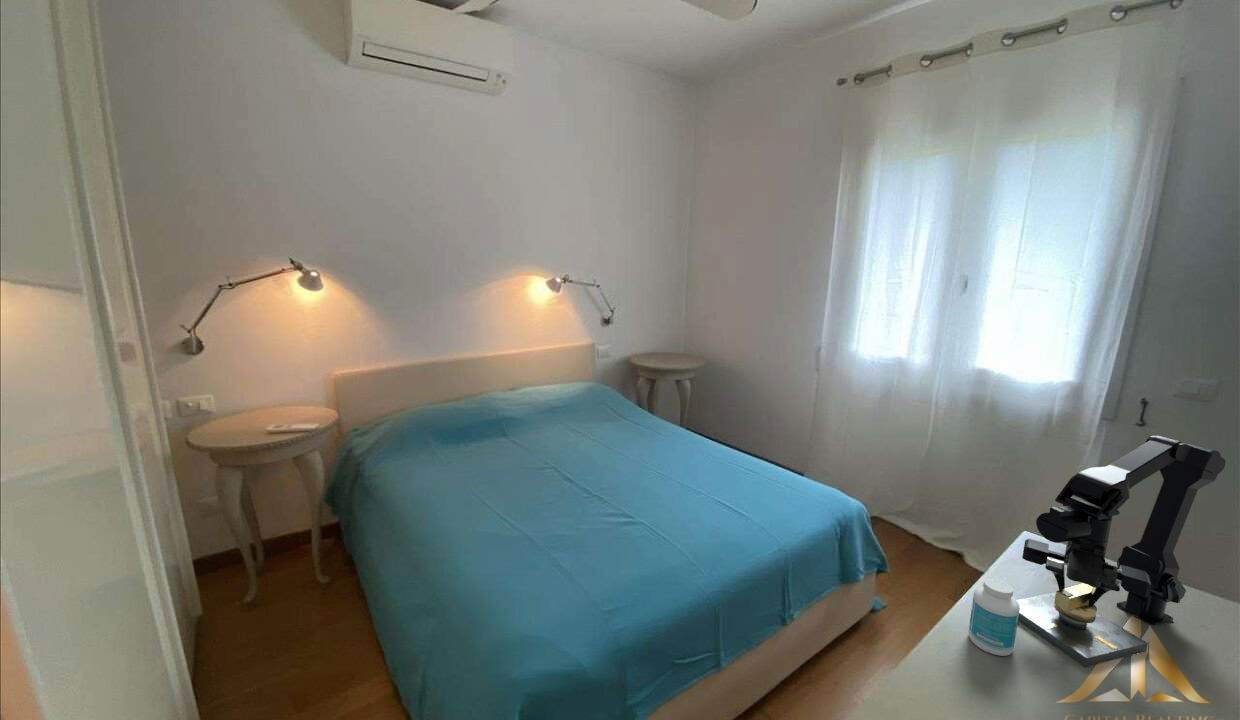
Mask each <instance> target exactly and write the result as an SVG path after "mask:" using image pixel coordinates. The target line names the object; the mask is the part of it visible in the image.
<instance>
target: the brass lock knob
mask: <svg viewBox="0 0 1240 720" xmlns="http://www.w3.org/2000/svg"><path fill="white" fill-rule="evenodd" d="M1092 588H1093V587H1091V586H1089V585H1087V584H1084V583H1079V584H1075V585H1073V586H1069V587H1065V589H1062V590H1059V589H1058V590H1056V591H1055V592H1056V595H1055V600H1054V608H1055V609H1056V610H1057V611H1058V612H1059V613H1060V614H1062V615H1063V616H1065V617H1067V618H1069V619H1072V620H1074V621H1078V622H1082V623H1093V622H1094V621H1095V618H1096V613H1098V607H1097V606H1096V605H1095V604H1094V605H1093V606H1092V607H1091V608H1090V607H1088V602H1089V597H1090V594H1091V591H1092ZM1096 602H1098V600H1097V601H1096Z"/></svg>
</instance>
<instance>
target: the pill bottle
mask: <svg viewBox="0 0 1240 720" xmlns="http://www.w3.org/2000/svg"><path fill="white" fill-rule="evenodd" d="M972 595H973V596H972V597H973V598H972V605H971V612H970V616H969V626H968V636H969V639H970V640H971V642H972V643H973V644H974V645H975V646H976V647H977V648H979V649H980V650H982V651H984V652H986V653H988V654H991V655H994V656H995V655H996V656H998V657H999V656H1001V657H1002V656H1003V657H1005V656H1009V655H1012V654H1013V652H1014V649H1015V642H1016V636H1017V630H1018V625H1019V624H1018V622H1019V621H1018V618H1019V611H1020V606H1019V604H1018V602H1017V601H1016V600H1017V599H1016V598H1015V597H1014V596H1013V595H1014V588H1013V587H1012V586H1011V585H1010V584H1008V583H1007V582H1005V581H1003V580H1000V579H996V578H992V577H991V578H985V579H984V580H983V584H982V586H979V587H978V588H976V589H975V590H974V592H973V594H972Z"/></svg>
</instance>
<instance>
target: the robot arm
mask: <svg viewBox="0 0 1240 720" xmlns="http://www.w3.org/2000/svg"><path fill="white" fill-rule="evenodd" d="M1225 467H1226V460H1225V458H1224V457H1222V456H1221V453H1220V452H1219V451H1218V450H1216V449H1212V448H1208V447H1205V446H1200V445H1197V444H1192V443H1189V442H1185V441H1181V440H1177V439H1174V438H1169V437H1166V436H1163V435H1162V436H1161V435H1150V436H1148V437H1147V439H1146V440H1145V443H1143V444H1141V445H1139V446H1138V447H1136V448H1134V449H1133V450H1132V451H1130V452H1128V453H1127V454H1125V455H1123V456H1122V457H1120V458H1118V459H1117V460H1115V461H1113V462H1112V463H1109V464H1108V465H1105V466H1094V467H1088V468H1086V469H1084V470H1081V471H1079V472H1076V473H1075V474H1074V475H1073V476H1072V477H1070V479H1069V480H1068V481H1067V483H1066V484H1065V485H1064V487H1063V488H1062V490H1061V491H1059V493H1058V495H1057V497H1056V498H1055V500H1054V501H1055V502H1056V503H1058V504H1061V505H1062V506H1051V507H1050V508H1049V512H1048V511H1047V512H1043V513H1040V515H1038V517H1036V521H1035V525H1036V528H1037V530H1038V532H1039V534H1041V536H1042V537H1044V538H1045V539H1046V540H1047V541H1049V542H1052V543H1054V544H1060V543H1065V542H1066V545H1065V550H1064V554H1063V553H1061V552H1057V551H1053V550H1050V549H1049V545H1050V544H1049V543H1046V542H1042V541H1039V540H1035V539H1031V538H1027V539H1025V540H1024V545H1023V551H1022V559H1023V560H1025V561H1027V562H1031V563H1034V564H1037V565H1040V566H1042V565H1045V570H1046V571H1050V572H1051V573H1052V574H1053V575H1054V578H1055V580H1056V582H1057V583H1056V584H1057V587H1058V590H1062V589H1065V588H1066V579H1065V578H1066V577H1067V579H1069V580H1070V581H1072V582H1078V583H1080V584H1082V583H1084V584H1087V585H1089V586H1091V587H1093V588H1092V591H1091V594H1090V597H1089V602H1088V607H1090V608H1091V607H1092V606H1093V605H1095V604H1096V601H1097V602H1098V600H1099V599H1100V598H1101V597H1103V596H1104V595H1105V594H1106V593H1108V592H1111V591H1114V592H1120V591H1121V588H1122V589H1124V591H1125V592H1127V596H1126V600H1125V601H1120V602H1116V606H1117V607H1119V608H1120V609H1122V610H1124V611H1126V612H1128V613H1129V614H1131V615H1133V616H1135V617H1136V618H1139V619H1140V620H1141V621H1143V622H1145V623H1147V624H1149V625H1152V626H1154V625H1158V624H1164V623H1167V622H1172V621H1173V620H1174V617H1172V615H1169V614H1167V613H1165V612H1166V609H1167V606H1168V603H1170V602H1171V603H1175V604H1180V603H1181V600H1182V599H1183V598H1184V597H1185V595H1186V592H1187V589H1186V588H1185V587H1184V585H1183V584H1182V582H1181V581H1180V580H1179V578H1178V576H1179V572H1180V566H1179V563H1178V561H1177V559H1176V556H1175V554H1174V550H1175V548H1176V546H1177V544H1178V540H1179V538H1180V536H1181V532H1182V530H1183V528H1184V526H1185V523H1186V521H1187V518H1188V515H1189V513H1190V510H1191V508H1192V505H1193V504H1194V501H1195V497H1196V495H1197V493H1198V490H1200V489H1203V488H1204V487H1205V486H1208V485H1210V484H1211V483H1214V481H1216V480H1217V477H1218V475H1219V474H1220V473H1222V471H1224V469H1225ZM1158 471H1159V473H1160V475H1161V478H1162V479H1163V481H1162V483H1161V486H1160V487H1159V488H1160V489H1159V492H1158V493H1157V496H1156V499H1155V502H1154V504H1153V507H1152V509H1151V512H1150V515H1149V517H1148V520H1147V522H1146V525H1145V527H1144V531H1143V533H1142V535H1141V538H1140V540H1139V541H1138V542H1137V543H1134V544H1132V545H1130V546H1129V545H1126V546H1125V547H1123V548H1122V551H1121V554H1120V556H1119V557H1118V559H1117V562H1116V565H1112V564H1109V562H1106V559H1105V557H1106V552H1107V548H1108V547H1107V546H1108V542H1109V537H1110V532H1111V527H1112V522H1113V521H1112V520H1113V517H1114V516H1118V515H1120V514H1121V512H1120V510H1119V509H1121V508H1120V507H1122V506H1123V505H1124V504H1125V503H1126V501H1128V500H1129V499H1130V495H1131V492H1130V491H1131V489H1132V488H1133V487H1134V486H1136V485H1138V484H1139V483H1141V482H1142V481H1144V480H1146V479H1147V478H1149V477H1150V476H1152V475H1154V474H1155V473H1157V472H1158ZM1072 497H1074V498H1072ZM1075 498H1077V499H1079V500H1081V501H1079V500H1077V499H1075ZM1082 501H1085V502H1087V503H1085V502H1082ZM1065 567H1066V568H1065ZM1065 570H1066V571H1065ZM1065 572H1066V574H1065Z"/></svg>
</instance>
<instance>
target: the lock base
mask: <svg viewBox="0 0 1240 720" xmlns="http://www.w3.org/2000/svg"><path fill="white" fill-rule="evenodd" d="M1055 595H1056V591H1054V592H1049V593H1044V594H1041V595H1034V596H1030V597H1026V598H1019V599H1016V601H1017V602H1018V604H1019V606H1020V611H1019V618H1018V622H1019V623H1021V624H1022V625H1024V626H1025V627H1027V628H1028V629H1029V630H1031V631H1032V632H1034V633H1035V634H1037V635H1038V636H1040V637H1041V638H1042V639H1044V640H1045V641H1046V642H1048V643H1050V644H1051V645H1052V646H1054V647H1055V648H1057V649H1059V650H1060V651H1061V652H1062V653H1064V654H1065V655H1067V656H1068V657H1070V658H1071V659H1073V660H1074V661H1075V662H1076V663H1078V664H1080V666H1081V665H1082V667H1085V668H1087V667H1091V666H1095V665H1099V664H1103V663H1107V662H1110V661H1115V660H1119V659H1122V657H1123V658H1126V657H1125V656H1127V657H1130V656H1129V655H1131V656H1134V655H1133V654H1135V655H1137V653H1139V654H1143V653H1145V652H1147V650H1148V646H1149V642H1147V641H1145V640H1144V639H1142V638H1140V637H1139V636H1138V635H1136V634H1133V633H1132V632H1130V631H1128V630H1127V629H1125V628H1124V627H1121V626H1120V625H1118V624H1117V623H1115V622H1113V621H1111V620H1110V619H1109V618H1107V617H1105V616H1103V615H1101V614H1099V612H1097V613H1096V618H1095V621H1094V622H1093V623H1082V622H1078V621H1074V620H1072V619H1069V618H1067V617H1065V616H1063V615H1062V614H1060V613H1059V612H1058V611H1057V610H1056V609H1055V608H1054V600H1055ZM1142 652H1143V653H1142Z"/></svg>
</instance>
